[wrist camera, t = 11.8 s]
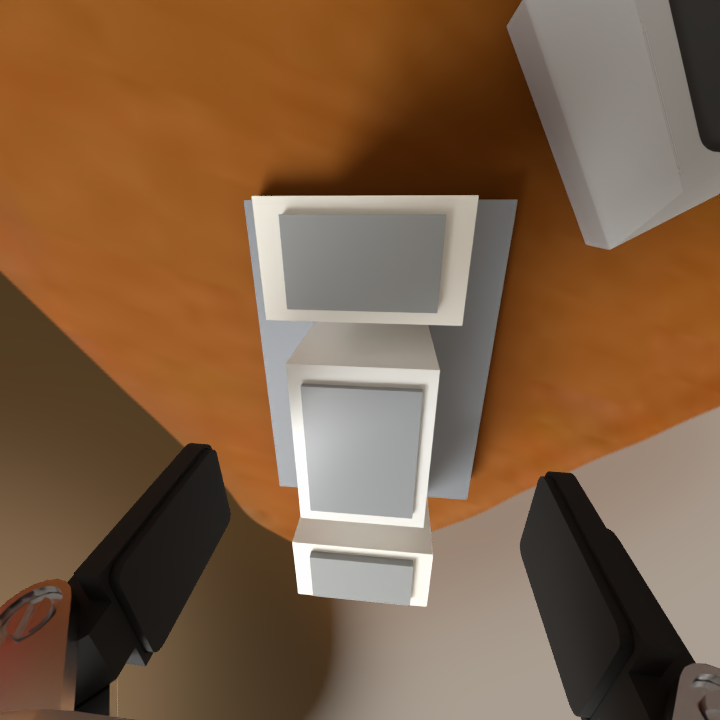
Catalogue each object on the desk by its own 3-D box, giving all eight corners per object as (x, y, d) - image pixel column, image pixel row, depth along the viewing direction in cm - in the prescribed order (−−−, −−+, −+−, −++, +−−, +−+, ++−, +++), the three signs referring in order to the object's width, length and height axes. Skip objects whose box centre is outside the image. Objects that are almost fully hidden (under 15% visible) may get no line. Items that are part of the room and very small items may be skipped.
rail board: (507, 200, 16) (610, 194, 8) (462, 482, 23) (495, 620, 15) (256, 200, 17) (140, 196, 9) (286, 469, 24) (234, 593, 16)
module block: (425, 315, 16) (440, 373, 11) (415, 436, 19) (423, 532, 14) (321, 312, 17) (283, 366, 11) (327, 431, 20) (299, 522, 14)
